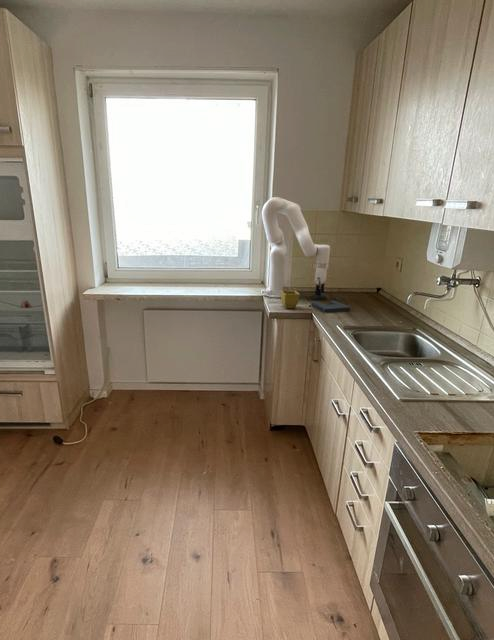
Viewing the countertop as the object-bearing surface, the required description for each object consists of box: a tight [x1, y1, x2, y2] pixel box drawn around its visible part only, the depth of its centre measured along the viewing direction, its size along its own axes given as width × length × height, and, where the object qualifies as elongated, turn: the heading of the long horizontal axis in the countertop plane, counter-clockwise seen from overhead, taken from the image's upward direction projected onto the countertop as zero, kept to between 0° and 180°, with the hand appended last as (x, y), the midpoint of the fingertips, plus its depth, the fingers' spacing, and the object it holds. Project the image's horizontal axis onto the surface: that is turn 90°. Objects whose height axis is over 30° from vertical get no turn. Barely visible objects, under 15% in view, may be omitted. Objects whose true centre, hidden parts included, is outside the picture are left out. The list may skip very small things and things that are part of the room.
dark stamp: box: [311, 285, 327, 301], centre depth 263 cm, size 6×6×8 cm
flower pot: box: [280, 290, 301, 309], centre depth 242 cm, size 9×9×9 cm
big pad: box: [311, 300, 351, 313], centre depth 243 cm, size 16×16×2 cm
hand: (319, 293), depth 264 cm, fingers open, 6 cm apart
